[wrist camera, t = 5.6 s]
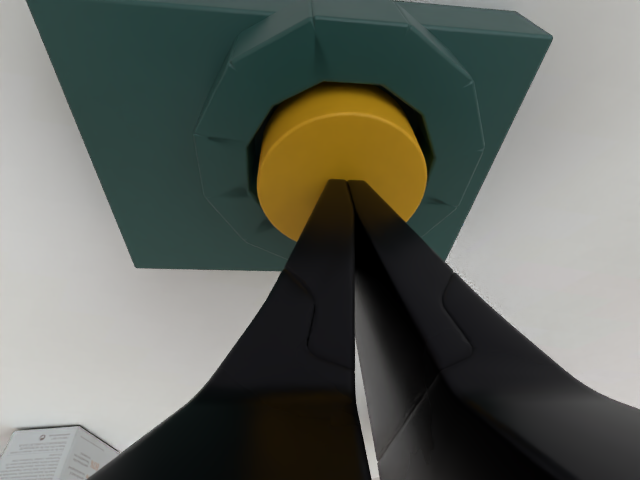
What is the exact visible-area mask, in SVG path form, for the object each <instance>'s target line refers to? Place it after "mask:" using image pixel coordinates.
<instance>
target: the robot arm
mask: <svg viewBox="0 0 640 480" xmlns="http://www.w3.org/2000/svg"><path fill="white" fill-rule="evenodd" d="M355 338H356V344H357V350H358V355H359V361H360V367H361V372H362V378H363V384H364V390H365V395H366V401H367V407H368V412H369V418H370V424H371V430H372V435H373V441H374V447H375V452H376V458H377V461H378V463H377V465H378V470H379V476H380V480H640V409H637V408H635V407H632V406H629V405H626V404H624V403H621V402H618V401H616V400H613V399H611V398H608V397H606V396H604V395H602V394H600V393H598V392H596V391H594V390H593V389H591V388H589V387H588V386H586V385H584V384H583V383H581V382H580V381H578V380H577V379H576V378H574V377H573V376H572V375H570V374H569V373H568V372H566V371H565V370H564V369H563V368H562V367H560V366H559V365H558V364H557V363H556V362H554V361H553V360H552V359H551V358H550V357H549V356H547V355H546V354H545V353H544V352H543V351H542V350H540V349H539V348H538V347H537V346H536V345H534V344H533V343H532V342H531V341H530V340H529V339H527V338H526V337H525V336H524V335H523V334H521V333H520V332H519V331H518V330H517V329H516V328H514V327H513V326H512V325H511V324H510V323H509V322H507V321H506V320H505V319H504V318H503V317H502V316H501V315H499V314H498V313H497V312H496V311H495V310H494V309H493V308H492V307H490V306H489V305H488V304H487V303H486V302H485V301H484V300H483V299H482V298H481V297H480V296H479V295H478V294H477V293H476V292H474V291H473V290H472V289H471V288H470V287H469V286H468V285H467V284H466V283H465V282H464V281H463V280H462V279H461V278H460V277H459V276H458V275H457V274H456V273H453V270H452V269H451V268H450V267H449V266H448V265H447V264H446V263H445V262H444V261H443V260H442V259H441V258H440V256H439V255H438V254H437V253H436V252H435V251H434V250H433V249H432V248H431V247H430V246H429V245H428V244H427V243H426V242H425V241H424V240H423V239H422V238H421V237H420V236H419V235H418V234H417V233H416V232H415V231H414V230H413V229H412V228H411V227H410V226H409V225H408V224H407V223H406V222H405V221H404V220H403V219H402V218H401V217H400V216H399V215H398V214H397V213H396V212H395V211H394V210H393V209H392V208H391V207H390V206H389V205H388V204H387V203H386V202H385V201H384V200H383V199H382V198H381V197H380V196H379V194H378V193H377V192H376V191H375V190H374V189H373V188H372V187H371V186H370V185H369V184H368V183H367V182H366V181H364V180H348V181H346V180H344V179H329V180H328V181H327V183H326V185H325V187H324V189H323V191H322V193H321V195H320V197H319V199H318V201H317V203H316V205H315V207H314V209H313V211H312V213H311V215H310V217H309V219H308V221H307V223H306V225H305V227H304V229H303V231H302V233H301V235H300V237H299V239H298V241H297V243H296V245H295V247H294V249H293V251H292V253H291V254H290V256H289V258H288V260H287V262H286V264H285V266H284V269H283V270H282V272H281V274H280V276H279V278H278V280H277V282H276V283H275V285H274V287H273V289H272V291H271V292H270V294H269V296H268V298H267V299H266V301H265V303H264V304H263V306H262V307H261V309H260V310H259V312H258V313H257V315H256V316H255V318H254V319H253V320H252V322H251V323H250V325H249V326H248V327H247V329H246V330H245V332H244V333H243V334H242V336H241V337H240V338H239V340H238V341H237V343H236V344H235V345H234V347H233V348H232V350H231V351H230V352H229V354H228V355H227V356H226V358H225V359H224V361H223V362H222V363H221V365H220V366H219V368H218V369H217V370H216V372H215V373H214V374H213V376H212V377H211V378H210V380H209V381H208V382H207V383H206V384H205V385H204V387H203V388H202V389H201V390H200V391H199V392H198V393H197V394H196V395H195V396H194V397H193V398H192V399H191V400H190V401H189V402H188V403H187V404H185V405H184V406H183V407H182V408H180V409H179V410H178V411H176V412H175V413H174V414H172V415H171V416H170V417H168V418H167V419H166V420H164V421H163V422H162V423H160V424H159V425H158V426H156V427H155V428H154V429H152V430H151V431H150V432H148V433H147V434H146V435H144V436H143V437H142V438H140V439H139V440H138V441H137V442H135V443H134V444H133V445H131V446H130V447H129V448H127V449H126V450H125V451H123V452H122V453H121V454H119V455H118V456H117V457H115V458H114V459H113V460H111V461H110V462H109V463H107V464H106V465H105V466H103V467H102V468H101V469H99V470H98V471H97V472H95V473H94V474H93V475H91V476H90V477H89V478H87V479H86V480H372V479H371V475H370V470H369V465H368V460H367V455H366V450H365V445H364V440H363V435H362V430H361V425H360V421H359V416H358V411H357V405H356V395H355V373H354V371H355Z"/></svg>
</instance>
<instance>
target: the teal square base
mask: <svg viewBox="0 0 640 480" xmlns="http://www.w3.org/2000/svg"><path fill="white" fill-rule="evenodd" d="M26 2H27V4H28V6H29V9H30V11H31V14H32V16H33V19H34V21H35V24H36V26H37V28H38V31H39V33H40V36H41V38H42V41H43V43H44V46H45V48H46V51H47V53H48V55H49V58H50V60H51V63H52V65H53V68H54V70H55V73H56V75H57V77H58V80H59V82H60V85H61V87H62V90H63V92H64V95H65V97H66V99H67V102H68V104H69V107H70V109H71V112H72V114H73V117H74V119H75V121H76V124H77V126H78V129H79V131H80V134H81V136H82V139H83V141H84V144H85V146H86V148H87V151H88V153H89V156H90V158H91V161H92V163H93V166H94V168H95V170H96V173H97V175H98V178H99V180H100V183H101V185H102V188H103V190H104V192H105V195H106V197H107V200H108V202H109V205H110V207H111V210H112V212H113V214H114V217H115V219H116V222H117V224H118V227H119V229H120V232H121V234H122V236H123V239H124V241H125V244H126V246H127V249H128V251H129V254H130V256H131V259H132V261H133V263H134V266H135V267H136V268H152V269H198V270H245V271H282V270H283V269H284V266H285V264H286V262H287V260H288V258H289V256H290V254H291V253H292V251H293V249H294V247H295V245H296V243H297V242H296V241H294V240H292V239H290V238H289V237H287V236H286V235H284V234H283V233H281V232H280V231H279V230H278V229H277V228H275V226H274V225H273V224H272V223H271V222H270V221H269V219H268V218H267V216H266V215H265V213H264V211H263V209H262V207H261V205H260V202H259V198H258V193H257V176H258V168H259V160H260V152H261V144H262V138H263V133H264V130H265V128H266V125H267V123H268V121H269V119H270V117H271V115H272V114H273V113H274V111H275V110H276V109H277V107H278V106H279V105H280V104H281V103H282V102H283V101H284V100H287V99H289V98H291V97H293V96H295V95H297V94H299V93H301V92H303V91H305V90H307V89H309V88H311V87H313V86H315V85H317V84H319V83H321V82H323V81H326V82H341V83H355V84H370V85H374V86H376V87H378V88H380V89H381V90H383V91H385V92H386V93H388V94H389V95H390V96H391V97H392V98H394V99H395V100H396V102H397V103H398V104H399V105H400V106H401V108H402V109H403V111H404V113H405V114H406V116H407V118H408V121H409V123H410V125H411V128H412V130H413V132H414V134H415V137H416V139H417V141H418V144H419V146H420V148H421V151H422V153H423V155H424V158H425V162H426V167H427V183H426V188H425V192H424V195H423V198H422V200H421V202H420V205H419V206H418V208H417V209H416V211H415V213H414V214H413V215H412V216H411V218H410V219H409V220H408V221H407V222H406V223H407V224H408V225H409V226H410V227H411V228H412V229H413V230H414V231H415V232H416V233H417V234H418V235H419V236H420V237H421V238H422V239H423V240H424V241H425V242H426V243H427V244H428V245H429V246H430V247H431V248H432V249H433V250H434V251H435V252H436V253H437V254H438V255H439V256H440V258H441V259H442V260H443V261H444V262H445V260H446V258H447V256H448V254H449V252H450V250H451V248H452V246H453V244H454V242H455V240H456V238H457V236H458V233H459V231H460V229H461V227H462V225H463V223H464V221H465V219H466V217H467V215H468V213H469V211H470V209H471V207H472V205H473V203H474V200H475V198H476V196H477V194H478V192H479V190H480V188H481V186H482V184H483V182H484V180H485V178H486V176H487V174H488V172H489V170H490V168H491V165H492V163H493V161H494V159H495V157H496V155H497V153H498V151H499V149H500V147H501V145H502V143H503V141H504V139H505V137H506V135H507V132H508V130H509V128H510V126H511V124H512V122H513V120H514V118H515V116H516V114H517V112H518V110H519V108H520V106H521V104H522V102H523V99H524V97H525V95H526V93H527V91H528V89H529V87H530V85H531V83H532V81H533V79H534V77H535V75H536V73H537V71H538V69H539V67H540V64H541V62H542V60H543V58H544V56H545V54H546V52H547V50H548V48H549V46H550V44H551V42H552V39H553V36H552V35H550V34H549V33H547V32H546V31H544V30H543V29H541V28H540V27H538V26H537V25H535V24H534V23H532V22H531V21H529V20H528V19H526V18H525V17H523V16H522V15H520V14H519V13H517V12H516V11H505V10H493V9H482V8H471V7H460V6H449V5H437V4H426V3H415V2H404V1H393V0H26Z"/></svg>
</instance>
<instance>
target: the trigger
mask: <svg viewBox="0 0 640 480" xmlns="http://www.w3.org/2000/svg"><path fill="white" fill-rule="evenodd" d="M329 179H344V180H346V181H348V180H364V181H366V182H367V183H368V184H369V185H370V186H371V187H372V188H373V189H374V190H375V191H376V192H377V193H378V194H379V196H380V197H381V198H382V199H383V200H384V201H385V202H386V203H387V204H388V205H389V206H390V207H391V208H392V209H393V210H394V211H395V212H396V213H397V214H398V215H399V216H400V217H401V218H402V219H403V220H404V221H405V222H407V221H408V220H409V219H410V218H411V216H412V215H413V214H414V213H415V211H416V209H417V208H418V206H419V205H420V202H421V200H422V198H423V195H424V192H425V188H426V183H427V167H426V162H425V158H424V155H423V153H422V151H421V148H420V146H419V144H418V141H417V139H416V137H415V134H414V132H413V130H412V128H411V125H410V123H409V121H408V118H407V116H406V114H405V113H404V111H403V109H402V108H401V106H400V105H399V104H398V103H397V102H396V100H395V99H394V98H392V97H391V96H390V95H389V94H388V93H386V92H385V91H383V90H381V89H380V88H378V87H376V86H374V85H370V84H355V83H341V82H326V81H323V82H321V83H319V84H317V85H315V86H313V87H311V88H309V89H307V90H305V91H303V92H301V93H299V94H297V95H295V96H293V97H291V98H289V99H287V100H284V101H283V102H282V103H281V104H280V105H279V106H278V107H277V109H276V110H275V111H274V113H273V114H272V115H271V117H270V119H269V121H268V123H267V125H266V128H265V130H264V133H263V138H262V144H261V152H260V160H259V168H258V176H257V193H258V198H259V202H260V205H261V207H262V209H263V211H264V213H265V215H266V216H267V218H268V219H269V221H270V222H271V223H272V224H273V225H274V226H275V228H277V229H278V230H279V231H280V232H281V233H283V234H284V235H286V236H287V237H289V238H290V239H292V240H294V241H296V242H297V241H298V239H299V237H300V235H301V233H302V231H303V229H304V227H305V225H306V223H307V221H308V219H309V217H310V215H311V213H312V211H313V209H314V207H315V205H316V203H317V201H318V199H319V197H320V195H321V193H322V191H323V189H324V187H325V185H326V183H327V181H328V180H329Z"/></svg>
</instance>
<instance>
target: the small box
mask: <svg viewBox="0 0 640 480" xmlns="http://www.w3.org/2000/svg"><path fill="white" fill-rule="evenodd" d="M118 455H119V452H117V451H116V450H114V449H113V448H111V447H110V446H108V445H107V444H105V443H104V442H102V441H101V440H99V439H98V438H96V437H95V436H93V435H92V434H90V433H89V432H87V431H86V430H84V429H83V428H81V427H80V426H74V427H60V428H46V429H32V430H19V431H14V432H13V434H12V436H11V438H10V440H9V442H8V444H7V446H6V448H5V450H4V452H3V454H2V456H1V458H0V480H86V479H87V478H89V477H90V476H91V475H93V474H94V473H95V472H97V471H98V470H99V469H101V468H102V467H103V466H105V465H106V464H107V463H109V462H110V461H111V460H113V459H114V458H115V457H117V456H118Z"/></svg>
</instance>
